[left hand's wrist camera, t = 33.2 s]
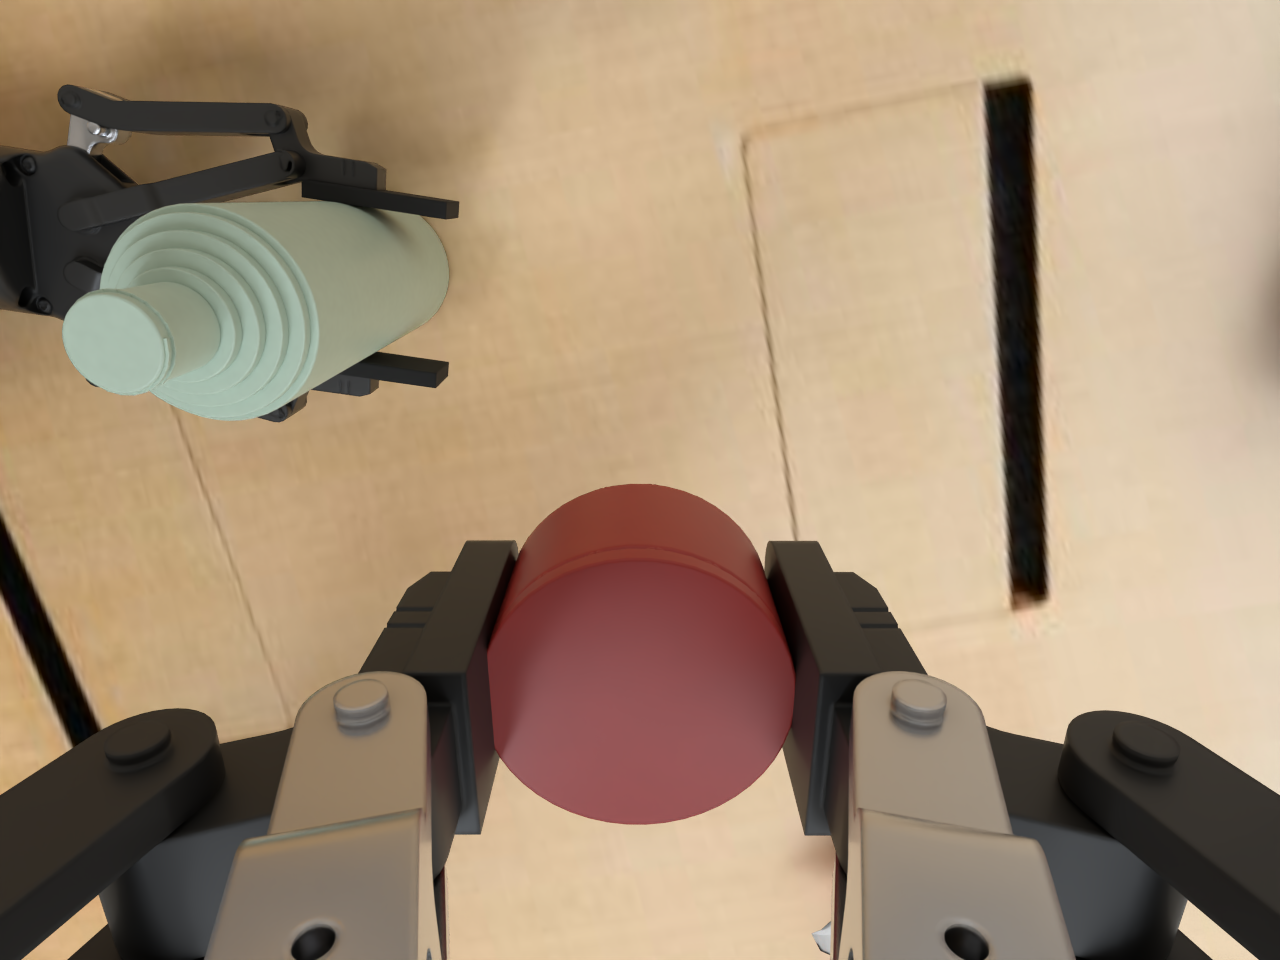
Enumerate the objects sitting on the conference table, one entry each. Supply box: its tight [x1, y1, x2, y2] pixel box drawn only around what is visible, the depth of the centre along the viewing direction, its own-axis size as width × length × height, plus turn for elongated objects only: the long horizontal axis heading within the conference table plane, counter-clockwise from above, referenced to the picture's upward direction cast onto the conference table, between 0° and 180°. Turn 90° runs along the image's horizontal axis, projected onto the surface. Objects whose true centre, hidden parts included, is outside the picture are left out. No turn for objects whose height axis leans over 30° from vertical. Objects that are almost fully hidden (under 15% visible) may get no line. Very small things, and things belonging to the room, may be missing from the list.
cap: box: [487, 484, 796, 824], centre depth 11 cm, size 4×4×2 cm
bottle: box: [62, 201, 449, 421], centre depth 32 cm, size 7×7×24 cm
